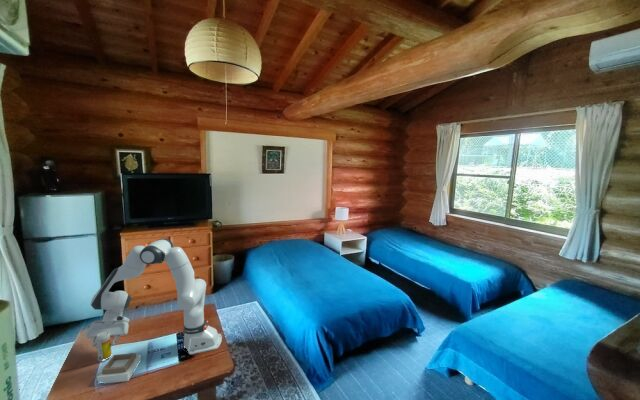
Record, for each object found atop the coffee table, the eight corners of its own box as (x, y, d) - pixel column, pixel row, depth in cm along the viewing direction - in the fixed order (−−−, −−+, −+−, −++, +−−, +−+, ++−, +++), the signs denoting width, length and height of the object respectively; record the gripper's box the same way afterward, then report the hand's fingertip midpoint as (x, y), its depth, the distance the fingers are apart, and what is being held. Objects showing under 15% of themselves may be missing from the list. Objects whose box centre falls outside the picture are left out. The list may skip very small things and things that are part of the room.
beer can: (114, 354, 158) (112, 331, 156) (106, 362, 152) (104, 338, 150) (103, 354, 158) (101, 331, 156) (95, 362, 152) (92, 338, 150)
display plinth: (141, 361, 154) (140, 350, 153) (128, 381, 140) (127, 369, 139) (113, 363, 151) (112, 353, 150) (97, 384, 138) (96, 372, 137)
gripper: (89, 319, 157) (79, 346, 149) (128, 317, 160) (120, 343, 152) (94, 322, 162) (85, 348, 154) (132, 319, 166) (125, 344, 157)
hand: (103, 345), depth 153 cm, fingers open, 8 cm apart
